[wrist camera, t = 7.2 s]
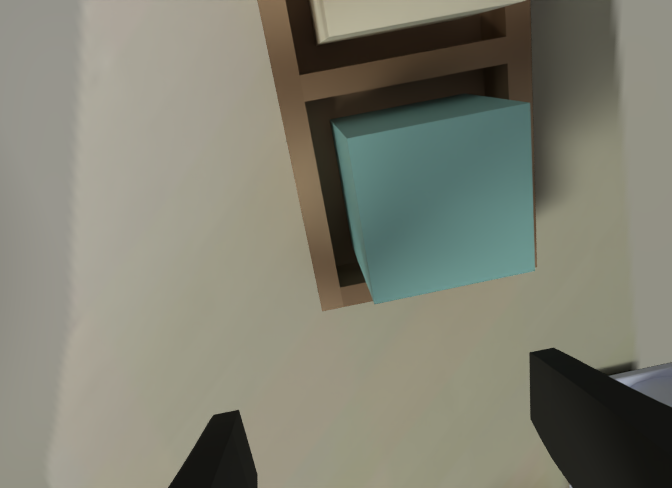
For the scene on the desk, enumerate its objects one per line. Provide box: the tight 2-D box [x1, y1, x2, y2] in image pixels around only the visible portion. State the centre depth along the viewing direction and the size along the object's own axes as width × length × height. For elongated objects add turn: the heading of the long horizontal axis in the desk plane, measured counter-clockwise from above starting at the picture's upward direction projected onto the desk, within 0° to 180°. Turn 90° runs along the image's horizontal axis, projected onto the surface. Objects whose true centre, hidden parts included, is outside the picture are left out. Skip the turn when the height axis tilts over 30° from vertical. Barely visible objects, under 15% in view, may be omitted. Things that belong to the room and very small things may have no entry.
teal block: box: [330, 93, 535, 304], centre depth 16 cm, size 5×5×5 cm
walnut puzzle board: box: [257, 0, 537, 311], centre depth 15 cm, size 16×8×6 cm, turn 10°
